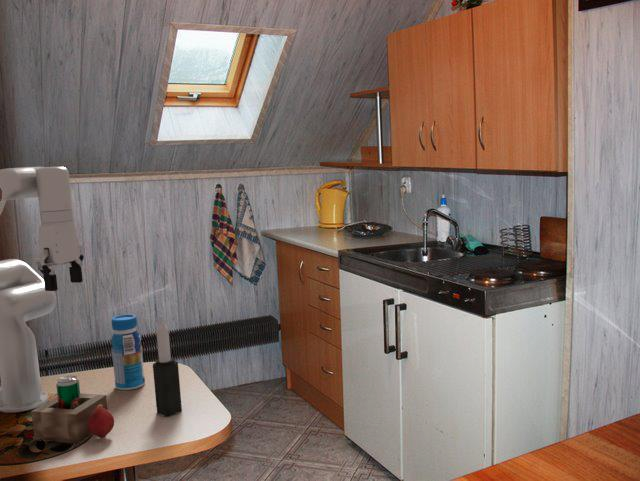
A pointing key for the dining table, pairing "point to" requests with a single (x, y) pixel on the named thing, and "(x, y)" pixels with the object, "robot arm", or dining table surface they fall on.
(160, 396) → the black handled stick
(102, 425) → the onion
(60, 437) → the well block
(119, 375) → the beverage bottle
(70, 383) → the soda can
